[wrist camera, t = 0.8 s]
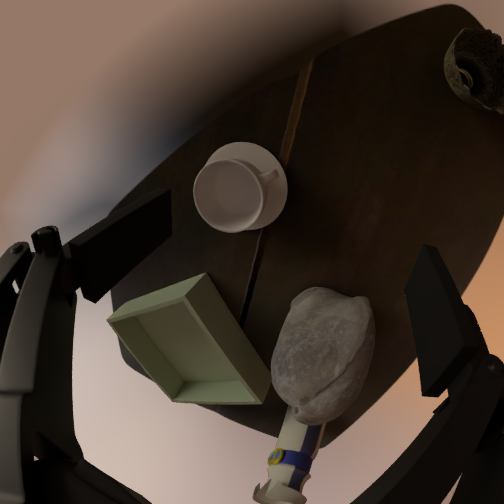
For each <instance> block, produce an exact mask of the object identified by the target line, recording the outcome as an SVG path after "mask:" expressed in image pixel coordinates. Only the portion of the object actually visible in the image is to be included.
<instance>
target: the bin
mask: <svg viewBox="0 0 504 504" xmlns="http://www.w3.org/2000/svg"><path fill="white" fill-rule="evenodd" d="M107 321H108V323H109V325H110V326H111V327H112V329H113V330H114V332H115V333H116V334H117V336H118V337H119V338H120V340H121V341H122V342H123V344H124V345H125V346H126V348H127V349H128V350H129V351H130V353H131V354H132V355H133V357H134V358H135V359H136V360H137V362H138V363H139V364H140V365H141V366H142V368H143V369H144V370H145V371H146V372H147V374H148V375H149V376H150V377H151V378H152V379H153V381H154V382H155V383H156V384H157V385H158V386H159V387H160V388H161V390H162V391H163V392H164V393H165V394H166V395H167V396H168V397H169V398H170V399H171V401H172V402H180V403H195V404H263V402H264V399H265V397H266V394H267V392H268V389H269V387H270V384H271V382H272V376H271V373H270V371H269V370H268V368H267V367H266V365H265V364H264V362H263V361H262V359H261V358H260V356H259V355H258V353H257V352H256V350H255V349H254V347H253V346H252V344H251V343H250V341H249V340H248V338H247V337H246V335H245V334H244V332H243V330H242V329H241V327H240V326H239V324H238V323H237V321H236V320H235V318H234V316H233V315H232V313H231V312H230V310H229V308H228V307H227V305H226V304H225V302H224V300H223V299H222V297H221V296H220V294H219V292H218V291H217V289H216V287H215V286H214V284H213V283H212V281H211V279H210V278H209V276H208V274H207V273H203V274H200V275H198V276H195V277H192V278H190V279H187V280H184V281H182V282H179V283H176V284H174V285H171V286H168V287H166V288H163V289H160V290H158V291H155V292H152V293H149V294H147V295H144V296H141V297H139V298H136V299H133V300H131V301H128V302H126V303H125V304H123V305H122V306H121V307H120V308H119V309H118V310H117V311H115V312H114V313H113V314H112V315H111V316H110V317H109V318H108V319H107Z"/></svg>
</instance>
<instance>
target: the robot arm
mask: <svg viewBox="0 0 504 504" xmlns="http://www.w3.org/2000/svg"><path fill="white" fill-rule="evenodd" d="M171 235H172V217H171V189H166V188H157V189H155V190H153V191H152V192H150V193H148V194H146V195H144V196H142V197H141V198H139V199H137V200H135V201H134V202H132V203H130V204H128V205H127V206H125V207H123V208H121V209H120V210H118V211H116V212H115V213H113V214H111V215H110V216H108V217H106V218H105V219H103V220H101V221H100V222H98V223H96V224H95V225H93V226H92V227H90V228H89V229H87V230H85V231H84V232H82V233H81V234H79V235H78V236H76V237H75V238H73V239H72V240H70V241H69V242H67V243H66V244H65V245H63V246H62V244H61V240H60V235H59V231H58V228H57V227H56V226H46V227H42V228H40V229H38V230H36V231H35V232H34V233H33V234H32V235H31V238H32V241H33V245H34V248H35V251H36V252H31V250H30V247H29V244H28V243H27V242H17V243H15V244H14V245H12V246H11V247H10V248H8V249H7V251H6V252H5V253H4V254H3V255H2V257H1V258H0V504H152V503H151V502H149V501H148V500H147V499H146V498H144V497H143V496H142V495H140V494H138V493H137V492H135V491H133V490H132V489H130V488H128V487H126V486H125V485H123V484H122V483H120V482H118V481H117V480H115V479H113V478H112V477H110V476H109V475H107V474H105V473H104V472H102V471H101V470H99V469H98V468H96V467H95V466H93V465H92V464H90V463H89V462H87V461H86V460H85V459H84V457H83V452H82V450H81V447H80V445H79V443H78V441H77V439H76V436H75V431H74V419H73V401H72V355H73V336H74V323H75V313H76V304H77V294H76V292H75V291H76V290H77V289H78V288H79V287H80V288H81V291H82V294H83V297H84V298H85V299H87V300H89V301H91V302H93V303H97V302H98V301H99V300H100V299H101V298H102V297H103V296H104V295H105V294H106V293H107V292H108V291H109V290H110V289H111V288H112V287H114V286H115V285H116V284H117V283H118V282H119V281H120V280H121V279H122V278H123V277H124V276H126V275H127V274H128V273H129V272H130V271H131V270H132V269H133V268H134V267H136V266H137V265H138V264H139V263H140V262H141V261H142V260H144V259H145V258H146V257H147V256H148V255H149V254H150V253H152V252H153V251H154V250H155V249H156V248H157V247H159V246H160V245H161V244H162V243H163V242H164V241H166V240H167V239H168V238H169V237H170V236H171ZM14 280H15V281H16V283H17V286H18V288H19V291H18V293H16V292H15V290H14V288H13V285H12V283H13V281H14ZM404 291H405V295H406V299H407V304H408V308H409V313H410V318H411V323H412V328H413V334H414V339H415V345H416V352H417V358H418V366H419V373H420V381H421V391H422V396H427V397H439V396H440V395H441V394H442V393H443V392H444V391H445V390H446V389H447V390H448V397H447V398H446V399H445V400H444V401H443V402H442V403H441V404H440V405H439V406H438V408H436V409H435V410H434V411H433V413H434V415H433V417H432V418H431V419H430V421H429V422H428V423H427V425H426V426H425V427H424V428H423V430H422V431H421V432H420V433H419V435H418V436H417V437H416V438H415V440H414V441H413V442H412V443H411V444H410V446H409V447H408V448H407V449H406V450H405V451H404V452H403V453H402V454H401V456H400V457H399V458H398V459H397V460H396V461H395V462H394V463H393V464H392V465H391V466H390V467H389V468H388V469H387V470H386V471H385V472H384V473H383V475H381V476H380V477H379V478H378V479H377V480H376V481H375V482H374V483H373V484H372V485H371V486H370V487H369V488H367V489H366V490H365V491H364V492H363V493H362V494H361V495H360V496H358V497H357V498H356V499H355V500H354V501H353V502H351V503H350V504H441V503H442V501H443V500H444V498H445V497H446V496H447V494H448V493H449V492H450V490H451V489H452V487H453V486H454V484H455V483H456V481H457V480H458V478H459V477H460V475H461V474H462V475H461V478H460V480H459V482H458V485H457V488H456V490H455V492H454V495H453V497H452V499H451V501H450V503H449V504H504V364H503V362H502V361H501V360H500V359H499V358H498V357H497V356H495V355H493V354H489V351H488V348H487V345H486V342H485V340H484V337H483V334H482V332H481V331H480V330H481V329H480V327H479V325H478V324H477V323H478V322H477V320H476V317H475V315H474V313H473V312H472V310H471V309H470V308H469V307H468V305H465V304H464V303H463V301H462V299H461V296H460V294H459V292H458V290H457V288H456V285H455V283H454V281H453V279H452V277H451V275H450V273H449V271H448V269H447V267H446V265H445V263H444V261H443V259H442V257H441V256H440V254H439V252H438V250H437V248H436V247H434V246H430V245H426V244H423V245H422V248H421V250H420V253H419V256H418V258H417V261H416V263H415V265H414V268H413V270H412V273H411V275H410V277H409V280H408V282H407V284H406V286H405V289H404ZM34 456H36V457H37V458H38V459H39V460H36V461H34Z"/></svg>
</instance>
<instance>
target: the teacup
mask: <svg viewBox="0 0 504 504" xmlns="http://www.w3.org/2000/svg"><path fill="white" fill-rule="evenodd" d="M193 194H194V201H195V205H196V207H197V209H198V211H199V213H200V215H201V216H202V217H203V219H204V220H205V221H206V222H207V223H208V224H210V225H211V226H212V227H214V228H216V229H218V230H220V231H224V232H229V233H235V232H241V231H244V230H254V229H259V228H262V227H264V226H267V225H268V224H270V223H271V222H273V221H274V220H275V219H276V218H277V217H278V216H279V214H280V213H281V211H282V210H283V208H284V205H285V202H286V198H287V180H286V176H285V173H284V171H283V169H282V167H281V165H280V163H279V162H278V161H277V159H276V158H275V157H274V156H273V155H272V154H271V153H270V152H269V151H267V150H266V149H264V148H262V147H261V146H258V145H256V144H253V143H248V142H235V143H231V144H227V145H225V146H223V147H221V148H220V149H218V150H217V151H216V152H215V153H214V154H213V155H212V156H211V157H210V158H209V160H208V161H207V163H206V165H205V167H204V168H203V169H202V170H201V171H200V172H199V174H198V175H197V177H196V180H195V183H194V190H193Z"/></svg>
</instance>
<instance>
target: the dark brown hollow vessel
mask: <svg viewBox="0 0 504 504" xmlns="http://www.w3.org/2000/svg"><path fill="white" fill-rule="evenodd" d="M444 72H445V76H446V79H447V81H448V83H449V85H450V87H451V89H452V90H453V91H454V93H455V94H456V95H457V96H458V97H459V98H460V99H461V100H462V101H464V102H465V103H467V104H468V105H470V106H473V107H475V108H478V109H481V110H485V111H490V112H494V113H498V114H501V115H504V45H503V44H502V39H501V37H500V36H499V35H498V34H495V33H493V34H492V32H491V30H483V29H481V30H479V29H478V26H474V27H472V28H471V29H469V28H464V29H462V30H461V31H460V32H459V33H458V35H457V36H456V37H455V39H454V41H453V42H452V44H451V45H450V47H449V49H448V50H447V53H446V55H445V59H444ZM460 73H463V74H464V75H465V76H466V77H467V80H468V85H467V86H465V84H464V82H463V78H462V76H461V74H460Z"/></svg>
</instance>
